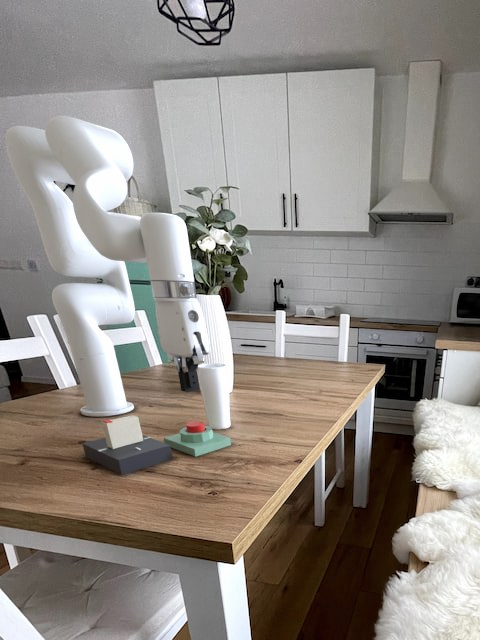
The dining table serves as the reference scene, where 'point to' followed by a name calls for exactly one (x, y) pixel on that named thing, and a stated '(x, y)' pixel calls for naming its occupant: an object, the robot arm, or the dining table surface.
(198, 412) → the dining table surface
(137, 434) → the knob
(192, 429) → the button
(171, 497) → the dining table surface
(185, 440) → the button box
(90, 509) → the dining table surface
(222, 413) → the drinking glass
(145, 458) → the panel
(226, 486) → the dining table surface
